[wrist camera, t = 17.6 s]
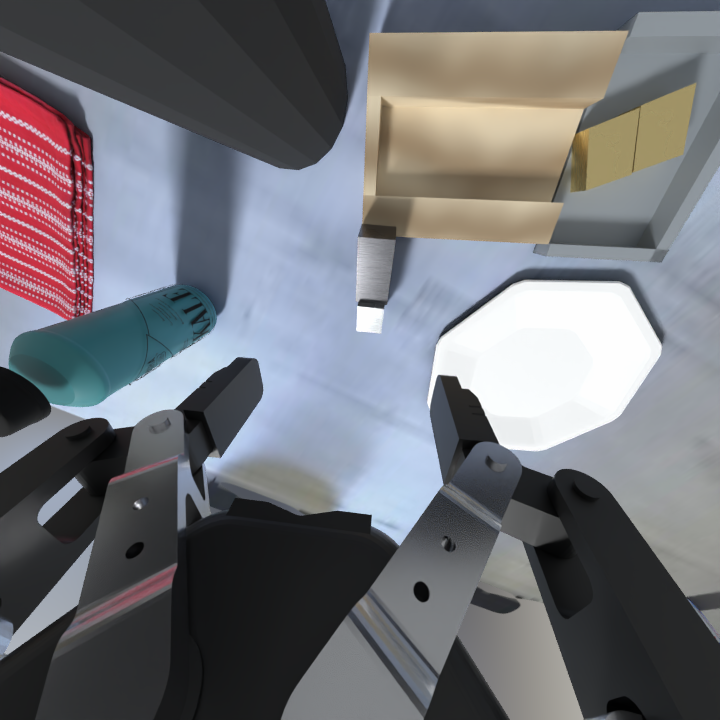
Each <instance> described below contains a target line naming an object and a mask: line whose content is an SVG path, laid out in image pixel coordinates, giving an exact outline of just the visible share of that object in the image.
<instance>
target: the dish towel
mask: <svg viewBox="0 0 720 720" xmlns="http://www.w3.org/2000/svg"><path fill="white" fill-rule="evenodd" d="M93 196H94V193H93V166H92V160H91V139H90V137H89V135H88V134H86V133H85V132H83V131H82V130H80V129H79V128H77V127H76V126H74V125H73V123H72V122H71V121H70V120H69V119H68V118H67V117H66V116H65V115H64V114H62V113H61V112H59V111H57V110H56V109H54V108H53V107H51V106H49V105H48V104H47V103H45V102H44V101H42V100H41V99H39V98H38V97H36V96H34V95H32V94H31V93H29V92H27V91H25V90H23V89H22V88H20V87H19V86H17V85H15V84H13V83H11V82H9V81H7V80H5V79H3V78H1V77H0V287H1V288H3V289H5V290H7V291H9V292H11V293H14V294H16V295H18V296H20V297H22V298H24V299H26V300H28V301H31V302H32V303H35V304H37V305H39V306H41V307H43V308H46V309H47V310H50V311H52V312H54V313H56V314H57V315H59V316H61V317H62V318H64V319H66V320H70V319H73V318H76V317H79V316H82V315H86V314H89V313H92V300H93V294H92V291H93V281H94V278H93V263H94V260H93V241H94V240H93Z"/></svg>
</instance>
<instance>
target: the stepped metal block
mask: <svg viewBox="0 0 720 720" xmlns="http://www.w3.org/2000/svg"><path fill="white" fill-rule="evenodd" d="M395 243H396V227H394V226H382V225H370V224H362V226H361V229H360V232H359V235H358V251H357V283H356V302H358V307H357V331H361V332H371V333H380V334H381V328H382V321H383V313H384V305H387V301H388V294H389V286H390V279H391V272H392V264H393V257H394V250H395Z"/></svg>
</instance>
